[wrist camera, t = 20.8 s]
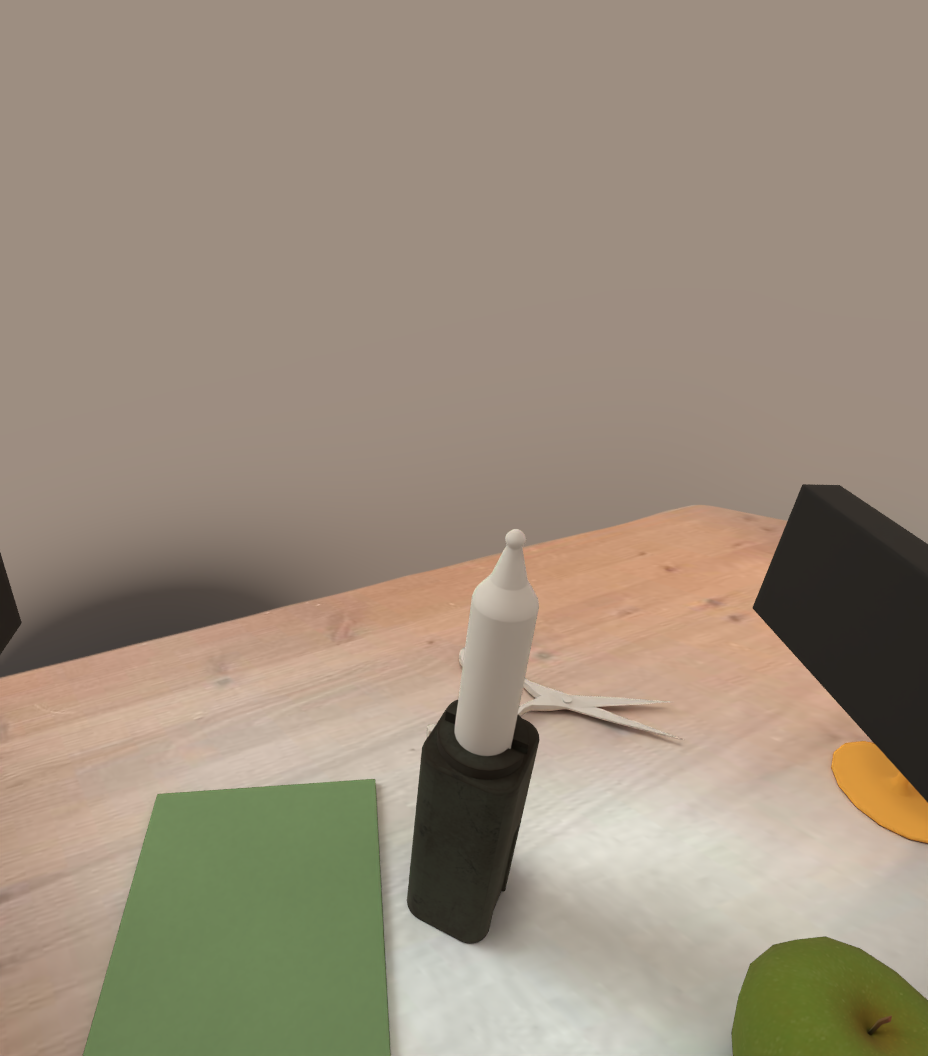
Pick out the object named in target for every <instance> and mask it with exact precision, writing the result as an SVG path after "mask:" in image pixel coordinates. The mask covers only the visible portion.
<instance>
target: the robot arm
mask: <svg viewBox="0 0 928 1056" xmlns="http://www.w3.org/2000/svg"><path fill="white" fill-rule="evenodd" d="M753 609H754V610H755V611H756V613H757V614H758V615H759V616H760V617H761V618H762V619H763V620H764V621H765V623H766V624H767V625H768V626H769V627H770V628H771V629H772V630H773V631H774V633H775V634H776V635H777V636H778V637H779V638H780V639H781V640H782V641H783V642H784V644H785V645H786V646H787V647H788V648H789V649H790V650H791V651H792V652H793V654H794V655H795V656H796V657H797V658H798V659H799V660H800V661H801V662H802V664H803V665H804V666H805V667H806V668H807V669H808V670H809V671H810V672H811V674H812V675H813V676H814V677H815V678H816V679H817V680H818V681H819V682H820V684H821V685H822V686H823V687H824V688H825V689H826V690H827V691H828V692H829V694H830V695H831V696H832V697H833V698H834V699H835V700H836V701H837V702H838V704H839V705H840V706H841V707H842V708H843V709H844V710H845V711H846V712H847V714H848V715H849V716H850V717H851V718H852V719H853V720H854V721H855V722H856V723H857V725H858V726H859V727H860V728H861V729H862V730H863V731H864V732H865V733H866V735H867V736H868V737H869V738H870V739H871V740H872V741H873V742H874V743H875V745H876V746H877V747H878V748H879V749H880V750H881V751H882V752H883V753H884V755H885V756H886V757H887V758H888V759H889V760H890V761H891V762H892V763H893V765H894V766H895V767H896V768H897V769H898V770H899V771H900V772H901V773H902V775H903V776H904V777H905V778H906V779H907V780H908V781H909V782H910V783H911V785H912V786H913V787H914V788H915V789H916V790H917V791H918V792H919V793H920V795H921V796H922V797H923V798H924V799H925V800H926V801H927V802H928V544H926V543H925V542H924V541H922V540H921V539H919V538H917V537H916V536H915V535H913V534H912V533H910V532H909V531H907V530H906V529H904V528H903V527H901V526H900V525H898V524H897V523H895V522H894V521H892V520H891V519H889V518H888V517H886V516H885V515H883V514H882V513H880V512H879V511H877V510H876V509H874V508H873V507H871V506H870V505H868V504H867V503H865V502H864V501H862V500H861V499H859V498H858V497H856V496H855V495H853V494H852V493H850V492H849V491H847V490H846V489H844V488H843V487H841V486H840V485H802V487H801V490H800V492H799V495H798V497H797V499H796V502H795V505H794V507H793V509H792V512H791V514H790V517H789V519H788V522H787V524H786V527H785V529H784V532H783V534H782V536H781V539H780V541H779V544H778V546H777V549H776V551H775V554H774V556H773V559H772V561H771V564H770V566H769V569H768V571H767V573H766V576H765V578H764V581H763V583H762V586H761V588H760V591H759V593H758V596H757V598H756V601H755V603H754V606H753ZM20 625H21V619H20V616H19V613H18V609H17V606H16V603H15V600H14V596H13V593H12V590H11V586H10V583H9V580H8V577H7V573H6V570H5V567H4V563H3V560H2V557H1V553H0V654H1V653H2V651H3V650H4V648H5V647H6V645H7V644H8V642H9V641H10V639H11V638H12V636H13V635H14V633H15V632H16V631H17V629H18V628H19V626H20Z"/></svg>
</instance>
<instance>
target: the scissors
mask: <svg viewBox="0 0 928 1056" xmlns="http://www.w3.org/2000/svg"><path fill="white" fill-rule="evenodd" d="M464 653H465V647H464V648H462V649H461V651H460V655H459V662H460V664H461V666H462V667H463V661H464ZM523 688H525V689H526V690H527V691H528V692H529V693H530V694H531V695H532V696H533V697H535V699H533V700H531V701H529V702H527V703H525V704H523V705H521V706H519V710H518V714H519V716H521V715H522V714H524V713H526V712H528V711H530V710H532V711H554V710H561V709H568V710H572V711H575V712H579V713H582V714H585V715H589V716H592V717H595V718H599V719H602V720H606V721H609V722H613V723H617V724H620V725H624V726H628V727H632V728H636V729H640V730H644V731H647V732H651V733H655V734H658V735H662V736H667V737H672V738H677V739H681V738H678V737H676V736H673V735H670V734H668V733H665V732H662V731H660V730H657V729H654V728H652V727H649V726H646V725H644V724H641V723H638V722H635V721H633V720H630V719H627V718H624V717H621V716H619V715H616V714H613V713H611V712H608V711H606V710H603V709H600V708H597V707H600V706H620V705H636V704H651V703H667V702H668V701H656V700H643V699H631V698H617V697H601V696H580V695H568V694H566V693H563V692H561V691H558V690H555V689H551V688H548V687H545V686H542V685H539V684H537V683H534V682H531V681H529V680H527V679H526V678H525V680H524V685H523ZM435 726H436V724H432V725H428V726H427V736H429V735H430V733H431V732H432V730H433V729H434V727H435ZM682 740H684V739H682Z"/></svg>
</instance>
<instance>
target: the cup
mask: <svg viewBox="0 0 928 1056" xmlns="http://www.w3.org/2000/svg"><path fill="white" fill-rule="evenodd" d="M831 768H832V770H833V773H834V775H835V778H836V780H837V783H838V785H839V787H840V788H841V789H842V790H843V792H844V793H845V794H846V795H847V796H848V798H849V799H850V800H851V801H852V802H853V804H854V805H855V806H856V807H857V808H858V809H860V810H861V811H862V812H864V813H865V814H866V815H867V816H869V817H870V818H871V819H873V820H874V821H875V822H877V823H878V824H879V825H881V826H883V827H885V828H887V829H889V830H891V831H893V832H895V833H897V834H899V835H901V836H903V837H905V838H907V839H911V840H915V841H920V842H924V843H928V802H927V801H926V800H925V799H924V798H923V797H922V796H921V795H920V793H919V792H918V791H917V790H916V789H915V788H914V787H913V786H912V785H911V783H910V782H909V781H908V780H907V779H906V778H905V777H904V776H903V775H902V773H901V772H900V771H899V770H898V769H897V768H896V767H895V766H894V765H893V763H892V762H891V761H890V760H889V759H888V758H887V757H886V756H885V755H884V753H883V752H882V751H881V750H880V749H879V748H878V747H877V746H876V745H875V743H871V742H866V741H860V742H851V743H845V744H844V745H842V746H841V747H840V748H839V749H837V750H836V751H835V752H834V754H833V760H832V767H831Z"/></svg>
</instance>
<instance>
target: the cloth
mask: <svg viewBox="0 0 928 1056" xmlns="http://www.w3.org/2000/svg"><path fill="white" fill-rule="evenodd" d="M83 1056H390V1039H389V1020H388V1002H387V984H386V966H385V948H384V930H383V912H382V893H381V875H380V857H379V839H378V821H377V803H376V785H375V779H367V780H352V781H338V782H324V783H309V784H295V785H281V786H266V787H252V788H238V789H223V790H209V791H195V792H180V793H166V794H157V797H156V801H155V804H154V808H153V811H152V815H151V818H150V822H149V825H148V829H147V832H146V836H145V839H144V843H143V846H142V850H141V853H140V857H139V860H138V864H137V867H136V871H135V874H134V878H133V881H132V885H131V889H130V892H129V896H128V899H127V903H126V906H125V910H124V913H123V917H122V920H121V924H120V927H119V931H118V934H117V938H116V941H115V945H114V948H113V952H112V955H111V959H110V962H109V966H108V969H107V973H106V976H105V980H104V983H103V987H102V990H101V994H100V997H99V1001H98V1004H97V1008H96V1011H95V1015H94V1018H93V1022H92V1025H91V1029H90V1032H89V1036H88V1039H87V1043H86V1047H85V1050H84V1054H83Z"/></svg>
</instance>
